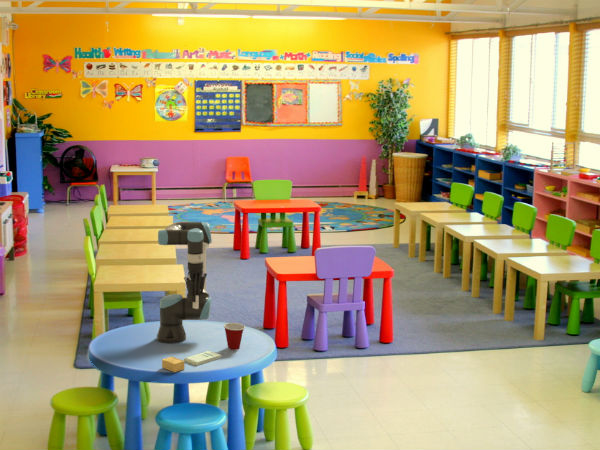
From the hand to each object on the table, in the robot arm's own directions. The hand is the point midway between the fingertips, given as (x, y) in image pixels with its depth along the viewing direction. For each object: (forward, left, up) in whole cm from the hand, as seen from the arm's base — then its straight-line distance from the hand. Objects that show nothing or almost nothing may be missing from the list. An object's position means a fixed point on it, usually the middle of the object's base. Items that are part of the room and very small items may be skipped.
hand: (195, 307), depth 398 cm
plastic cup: (+6, +20, -24) cm, 32 cm away
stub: (+8, -21, -24) cm, 33 cm away
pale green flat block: (+8, -2, -24) cm, 25 cm away
